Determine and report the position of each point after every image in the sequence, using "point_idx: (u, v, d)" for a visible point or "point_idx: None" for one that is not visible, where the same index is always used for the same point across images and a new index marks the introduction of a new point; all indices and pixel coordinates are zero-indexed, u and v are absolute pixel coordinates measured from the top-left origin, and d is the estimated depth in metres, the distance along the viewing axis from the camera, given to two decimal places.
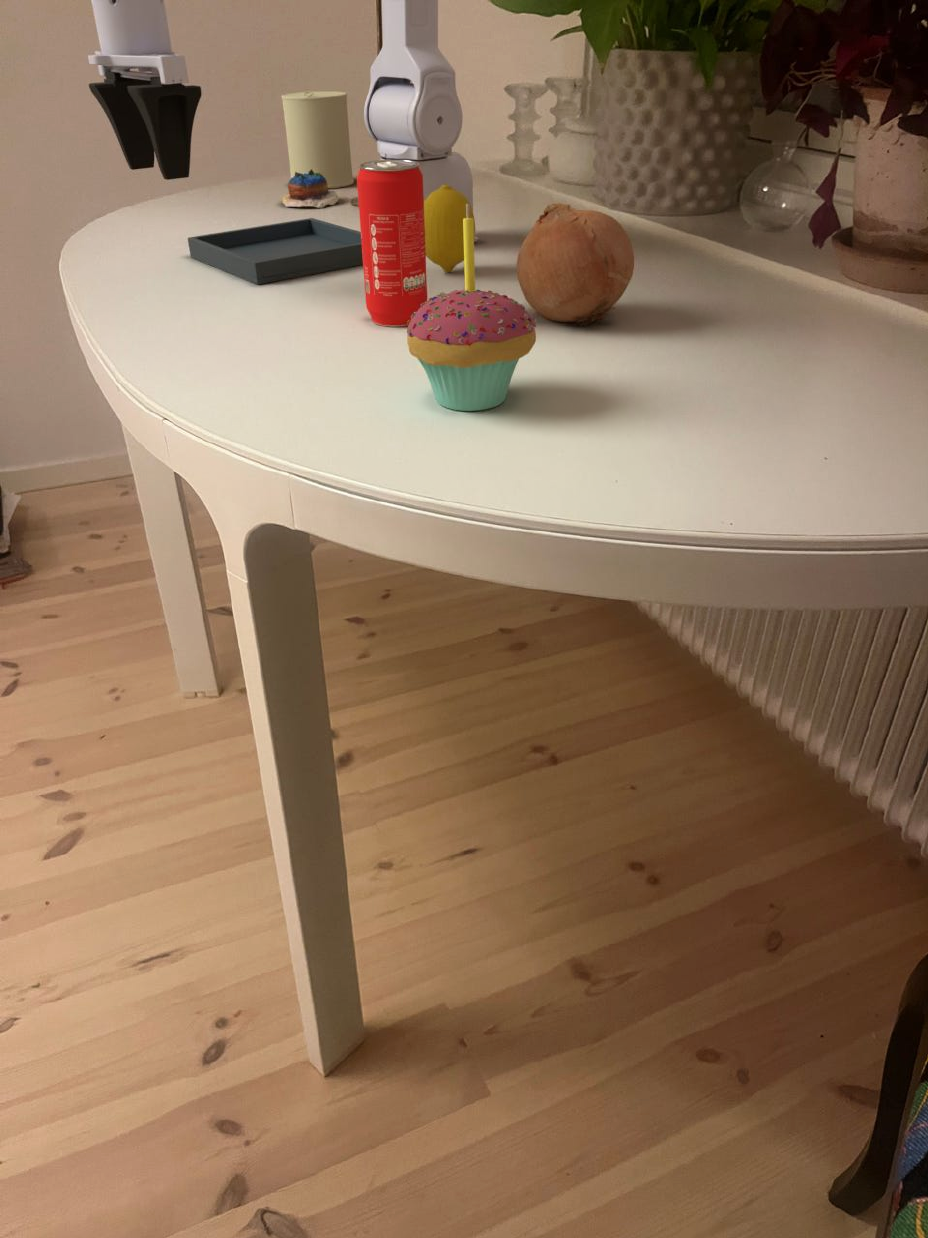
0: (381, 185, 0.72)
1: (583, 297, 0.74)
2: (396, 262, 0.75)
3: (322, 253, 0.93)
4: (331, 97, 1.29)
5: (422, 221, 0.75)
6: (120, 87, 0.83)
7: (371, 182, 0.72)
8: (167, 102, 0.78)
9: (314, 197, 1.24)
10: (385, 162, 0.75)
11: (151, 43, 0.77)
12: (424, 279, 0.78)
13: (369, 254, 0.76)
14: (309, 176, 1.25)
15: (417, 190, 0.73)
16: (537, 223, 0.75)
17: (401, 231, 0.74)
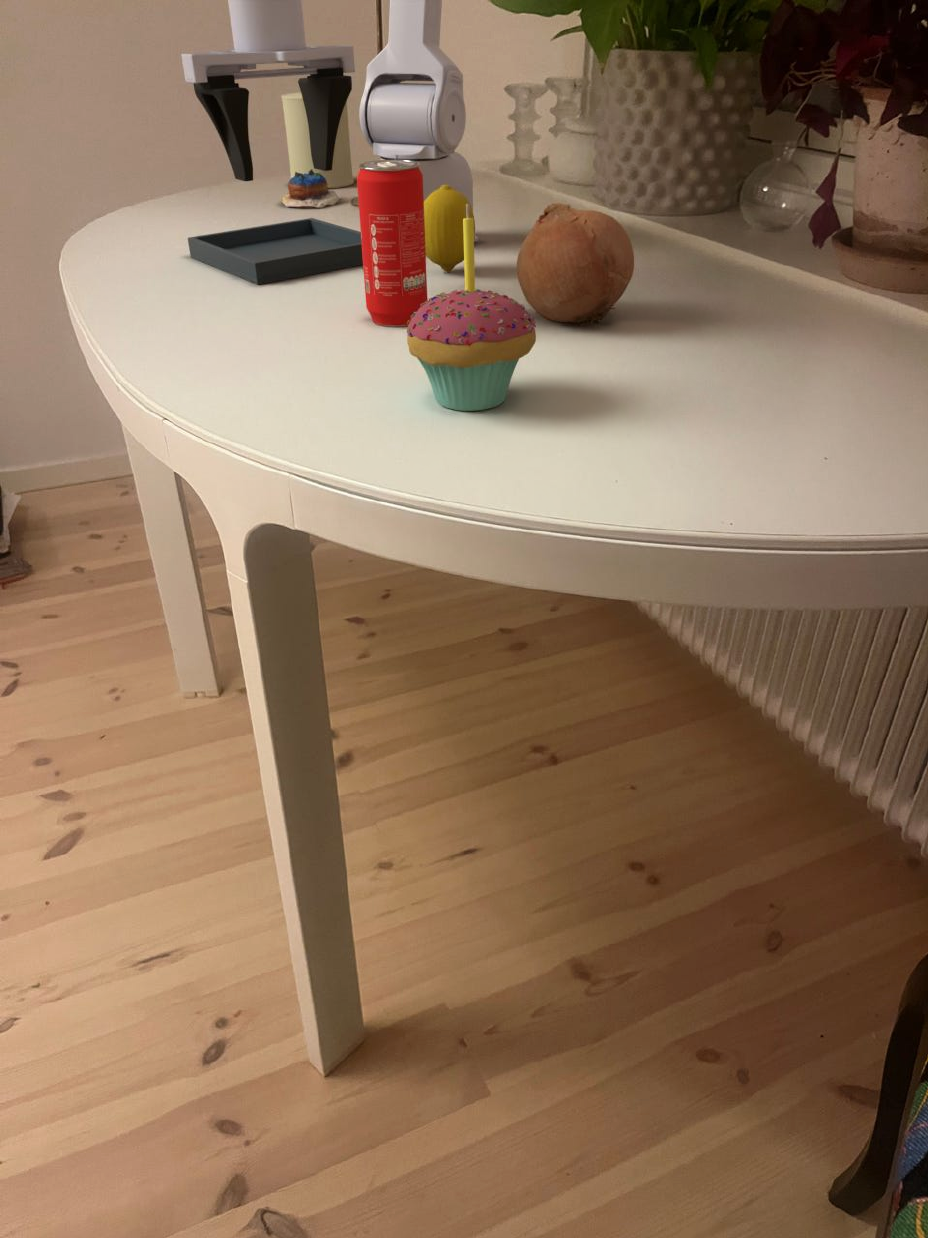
0: (381, 185, 0.72)
1: (583, 297, 0.74)
2: (396, 262, 0.75)
3: (322, 253, 0.93)
4: None
5: (422, 221, 0.75)
6: None
7: (371, 182, 0.72)
8: None
9: (314, 197, 1.24)
10: (385, 162, 0.75)
11: None
12: (424, 279, 0.78)
13: (369, 254, 0.76)
14: (309, 176, 1.25)
15: (416, 190, 0.73)
16: (537, 223, 0.75)
17: (401, 231, 0.74)
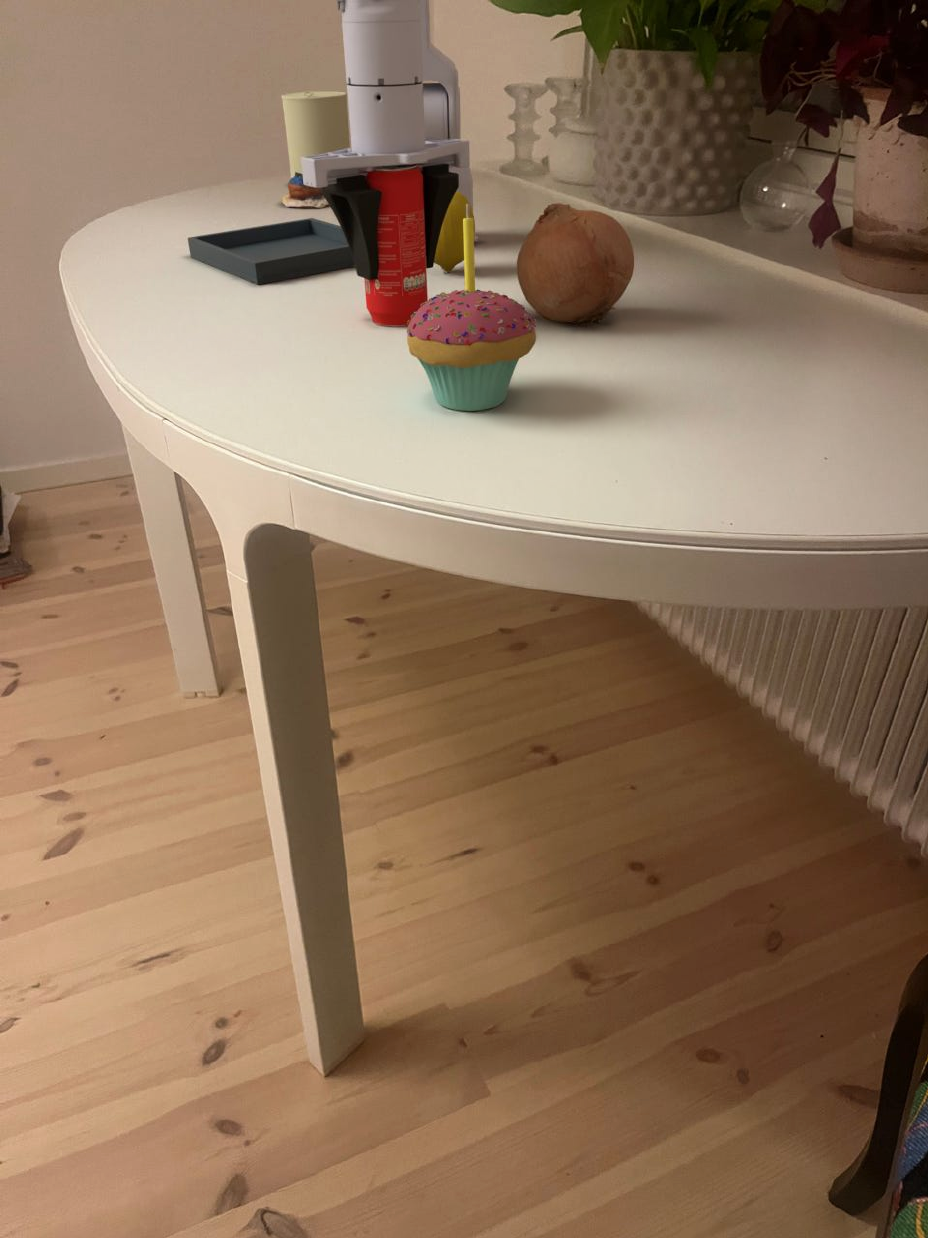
0: (381, 185, 0.72)
1: (583, 297, 0.74)
2: (396, 262, 0.75)
3: (322, 253, 0.93)
4: (331, 97, 1.29)
5: (422, 221, 0.75)
6: None
7: (371, 182, 0.72)
8: None
9: (314, 197, 1.24)
10: None
11: None
12: (424, 279, 0.78)
13: None
14: None
15: (417, 190, 0.73)
16: (537, 223, 0.75)
17: (401, 231, 0.74)
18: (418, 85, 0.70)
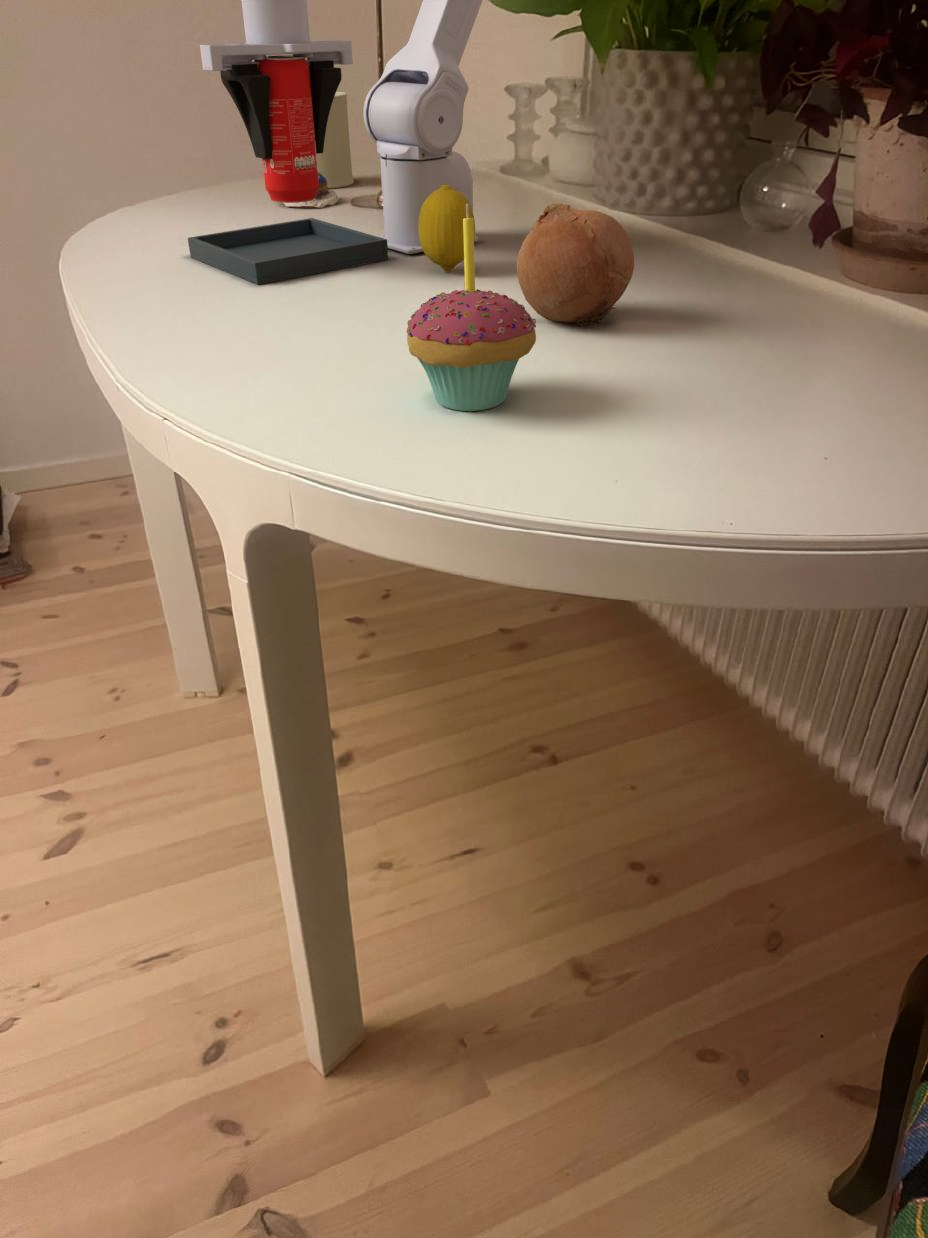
0: (271, 72, 0.84)
1: (583, 297, 0.74)
2: (287, 143, 0.87)
3: (322, 253, 0.93)
4: None
5: (309, 107, 0.87)
6: None
7: (262, 69, 0.85)
8: None
9: None
10: (277, 56, 0.87)
11: None
12: (314, 161, 0.90)
13: None
14: None
15: (302, 78, 0.86)
16: (537, 223, 0.75)
17: (290, 115, 0.86)
18: None
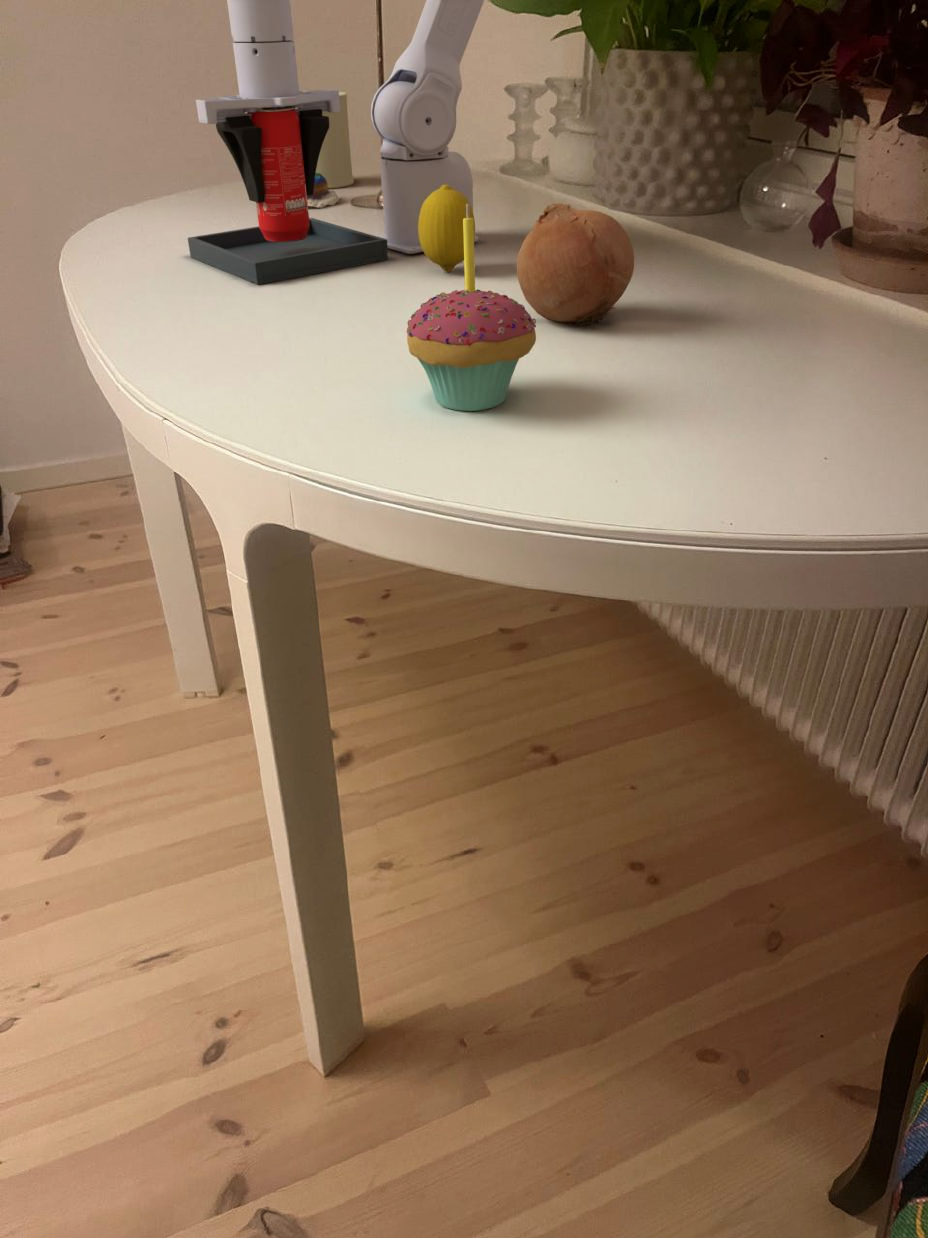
0: (262, 123, 0.90)
1: (583, 297, 0.74)
2: (278, 187, 0.93)
3: (322, 253, 0.93)
4: None
5: (299, 154, 0.93)
6: None
7: (255, 120, 0.90)
8: None
9: (314, 197, 1.24)
10: None
11: None
12: (304, 203, 0.96)
13: None
14: None
15: (292, 128, 0.92)
16: (537, 223, 0.75)
17: (281, 162, 0.92)
18: (288, 42, 0.88)
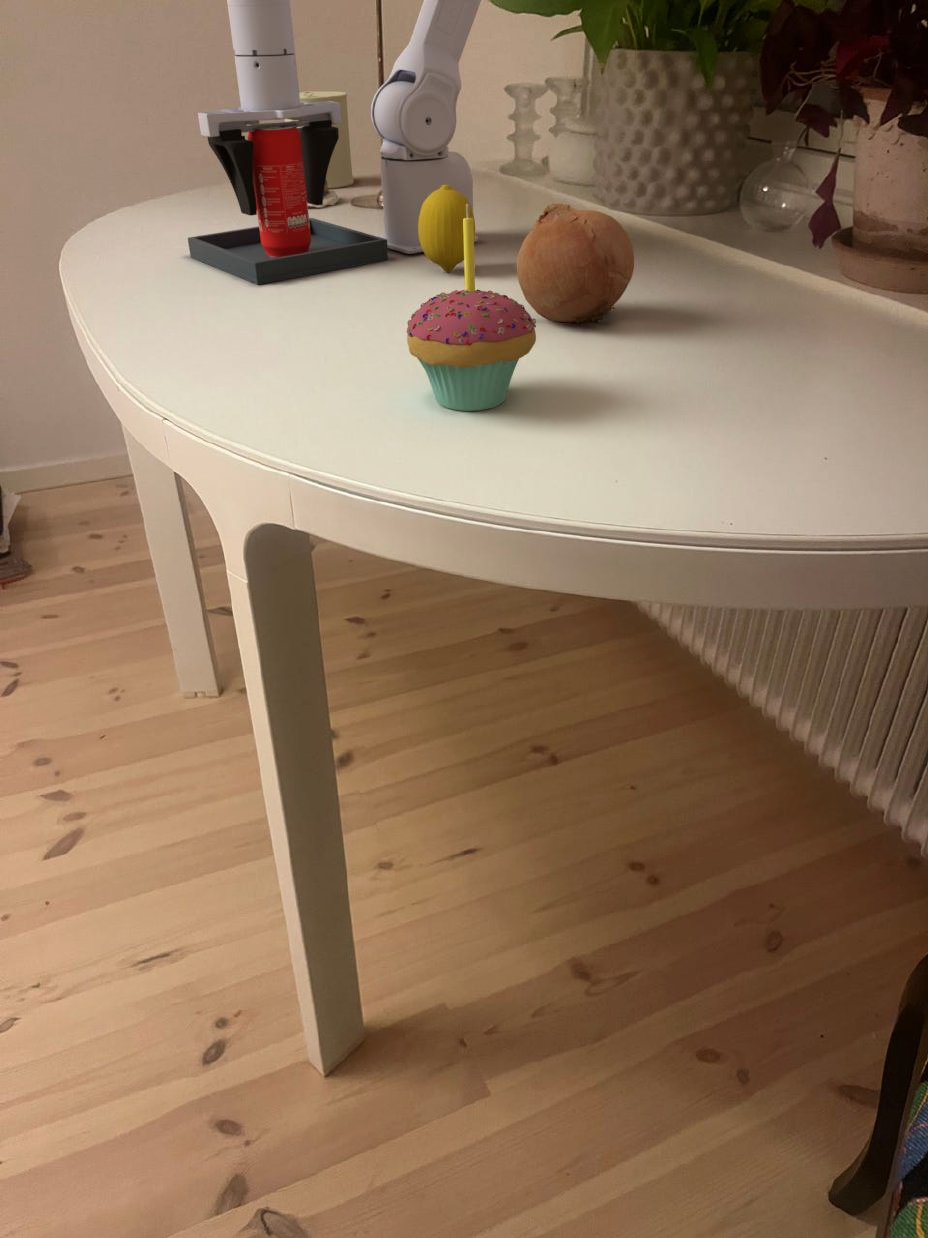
0: (264, 141, 0.91)
1: (583, 297, 0.74)
2: (280, 204, 0.94)
3: (322, 253, 0.93)
4: (331, 97, 1.29)
5: (301, 171, 0.94)
6: None
7: (257, 139, 0.91)
8: None
9: None
10: None
11: None
12: (306, 219, 0.97)
13: (259, 198, 0.95)
14: None
15: (294, 145, 0.92)
16: (537, 223, 0.75)
17: (282, 179, 0.93)
18: (290, 55, 0.88)
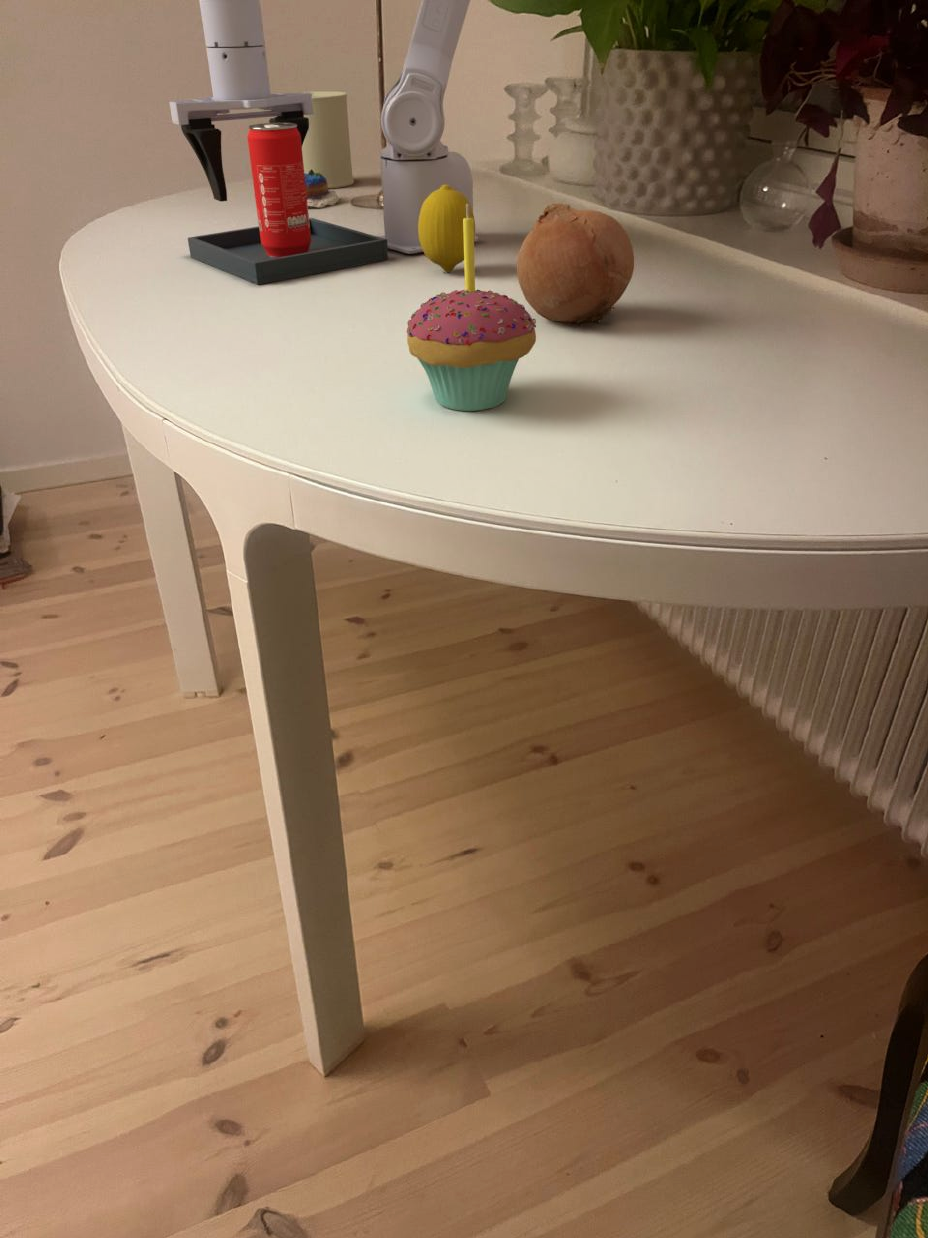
0: (264, 141, 0.91)
1: (583, 297, 0.74)
2: (280, 204, 0.94)
3: (322, 253, 0.93)
4: (331, 97, 1.29)
5: (301, 171, 0.94)
6: None
7: (257, 138, 0.91)
8: None
9: (314, 196, 1.24)
10: (271, 124, 0.94)
11: None
12: (306, 219, 0.97)
13: (259, 198, 0.95)
14: (309, 176, 1.25)
15: (294, 145, 0.92)
16: (537, 223, 0.75)
17: (283, 179, 0.93)
18: (257, 47, 0.92)
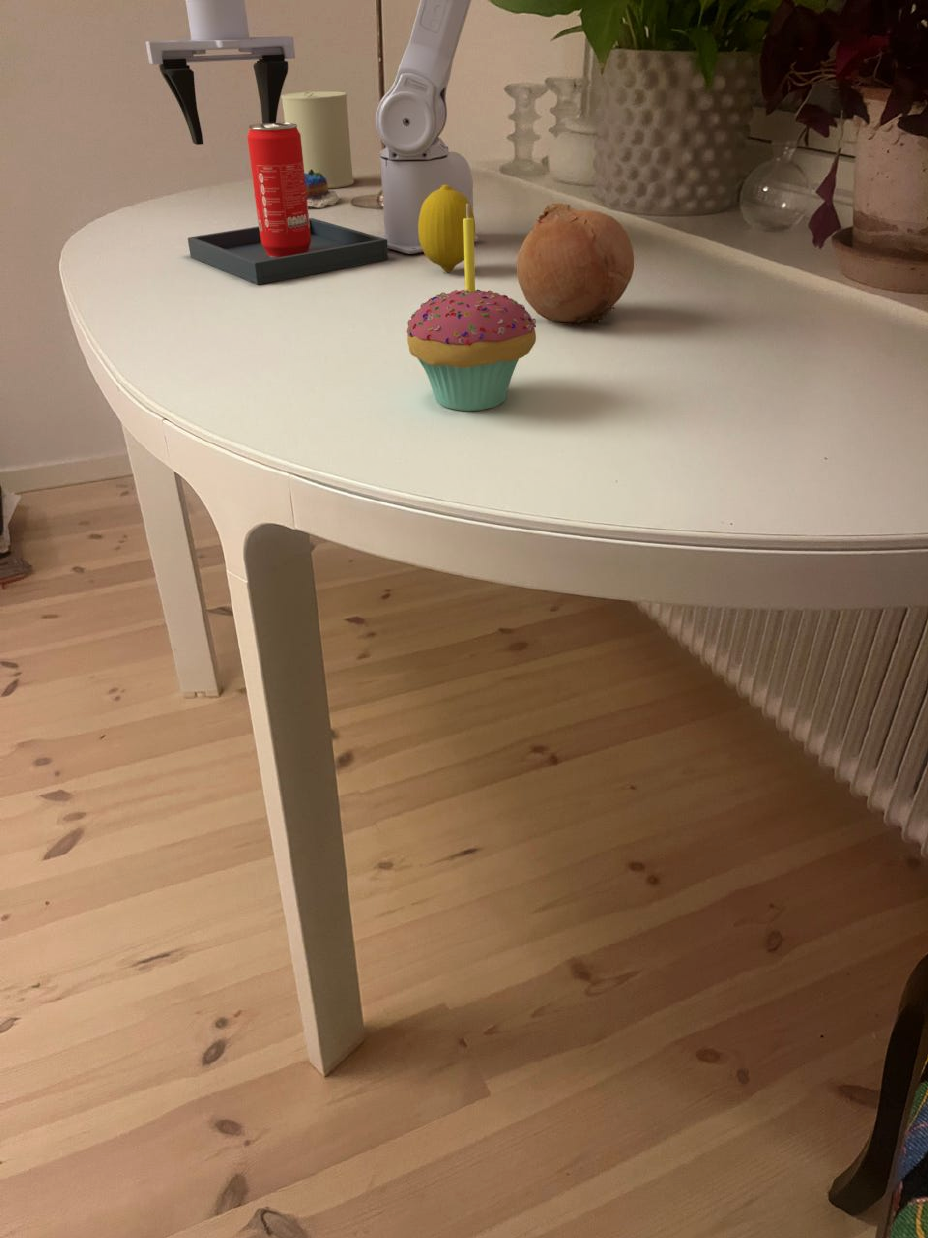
0: (264, 141, 0.91)
1: (583, 297, 0.74)
2: (280, 204, 0.94)
3: (322, 253, 0.93)
4: (331, 97, 1.29)
5: (301, 171, 0.94)
6: None
7: (257, 138, 0.91)
8: None
9: (314, 196, 1.24)
10: (271, 124, 0.94)
11: None
12: (306, 219, 0.97)
13: (259, 198, 0.95)
14: (309, 176, 1.25)
15: (294, 145, 0.92)
16: (537, 223, 0.75)
17: (283, 179, 0.93)
18: None
